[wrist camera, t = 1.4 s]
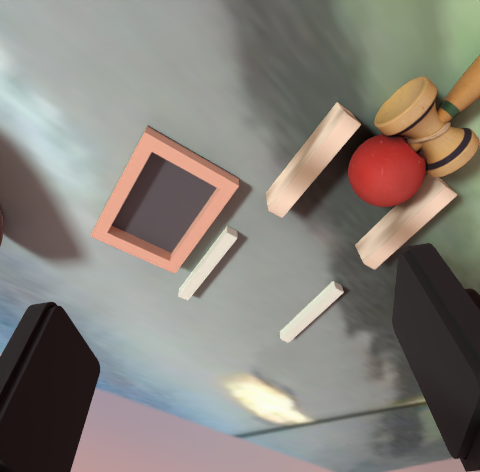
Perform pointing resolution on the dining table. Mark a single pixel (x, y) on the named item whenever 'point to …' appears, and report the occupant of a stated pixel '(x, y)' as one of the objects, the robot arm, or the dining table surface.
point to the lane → (316, 159)
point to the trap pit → (164, 202)
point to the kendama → (415, 140)
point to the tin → (1, 227)
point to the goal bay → (215, 256)
